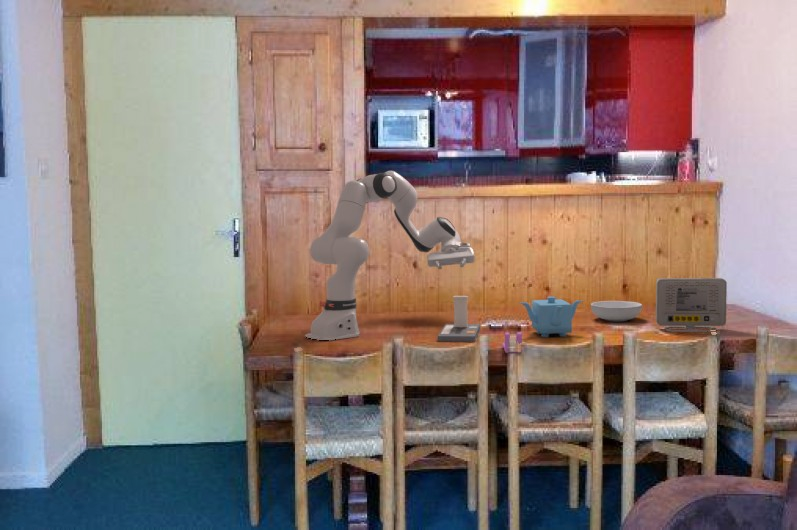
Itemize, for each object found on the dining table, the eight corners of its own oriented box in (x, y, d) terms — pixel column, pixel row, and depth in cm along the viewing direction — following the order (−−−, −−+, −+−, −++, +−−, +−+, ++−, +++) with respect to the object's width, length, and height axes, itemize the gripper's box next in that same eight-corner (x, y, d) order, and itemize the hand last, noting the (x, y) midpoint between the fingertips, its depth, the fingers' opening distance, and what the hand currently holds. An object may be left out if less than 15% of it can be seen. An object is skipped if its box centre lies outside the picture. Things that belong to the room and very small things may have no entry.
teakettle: (543, 328, 331) (542, 292, 330) (585, 333, 319) (585, 295, 318) (517, 336, 317) (517, 298, 316) (561, 341, 305) (560, 302, 304)
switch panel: (445, 328, 337) (445, 323, 336) (480, 328, 334) (480, 323, 334) (437, 341, 311) (437, 335, 311) (474, 341, 309) (474, 336, 308)
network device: (722, 327, 323) (723, 277, 321) (727, 331, 315) (728, 280, 313) (654, 327, 328) (655, 277, 326) (657, 331, 319) (658, 280, 317)
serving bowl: (652, 319, 346) (652, 303, 345) (621, 326, 333) (621, 309, 332) (611, 314, 362) (611, 298, 361) (580, 320, 349) (580, 304, 348)
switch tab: (454, 326, 329) (453, 295, 328) (468, 326, 328) (467, 295, 327) (453, 327, 326) (452, 296, 325) (467, 327, 325) (467, 296, 324)
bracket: (521, 353, 287) (521, 333, 287) (505, 353, 288) (505, 333, 287) (517, 345, 300) (517, 326, 300) (501, 345, 300) (501, 327, 300)
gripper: (426, 247, 359) (425, 262, 347) (473, 243, 357) (474, 257, 345) (428, 260, 362) (427, 275, 350) (474, 256, 360) (475, 270, 348)
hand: (450, 266), depth 347 cm, fingers open, 8 cm apart
